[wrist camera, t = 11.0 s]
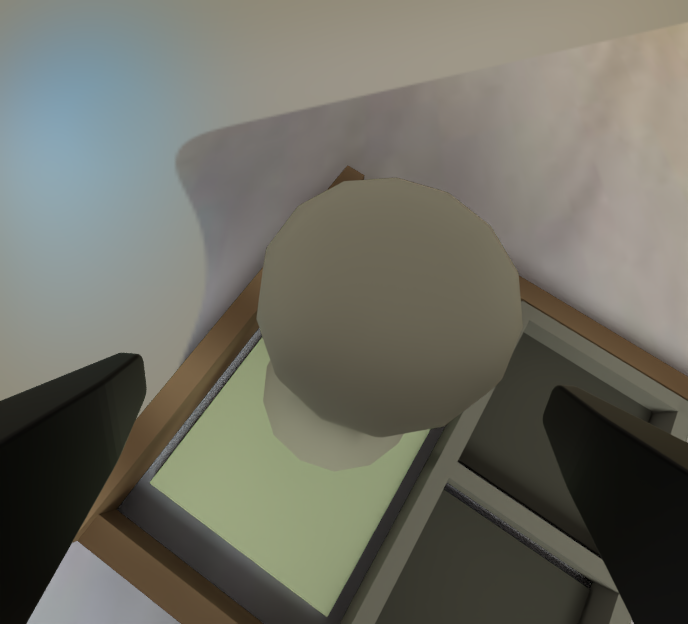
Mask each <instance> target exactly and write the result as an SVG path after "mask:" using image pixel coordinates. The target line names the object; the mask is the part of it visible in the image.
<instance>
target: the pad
mask: <svg viewBox="0 0 688 624" xmlns="http://www.w3.org/2000/svg"><path fill="white" fill-rule="evenodd" d="M269 361H270V357H269V355H268V352H267V349H266V346H265V343H264V340H263V337H262V338H261V339H260V341H259V342H258V343H257V344H256V346H255V347H254V348H253V350H252V351H251V352H250V354H249V355H248V356H247V357H246V359H245V360H244V361H243V363H242V364H241V365H240V366H239V368H238V369H237V370H236V372H235V373H234V374H233V376H232V377H231V378H230V379H229V381H228V382H227V383H226V385H225V386H224V387H223V388H222V390H221V391H220V392H219V394H218V395H217V396H216V398H215V399H214V400H213V401H212V403H211V404H210V405H209V407H208V408H207V409H206V410H205V412H204V413H203V414H202V416H201V417H200V418H199V419H198V421H197V422H196V423H195V425H194V426H193V427H192V429H191V430H190V431H189V432H188V434H187V435H186V436H185V438H184V439H183V440H182V441H181V443H180V444H179V445H178V447H177V448H176V449H175V451H174V452H173V453H172V454H171V456H170V457H169V458H168V460H167V461H166V462H165V463H164V465H163V466H162V467H161V469H160V470H159V471H158V473H157V474H156V475H155V476H154V478H153V479H152V480H151V482H150V484H151V485H153V486H154V487H155V488H157V489H158V490H159V491H161V492H162V493H163V494H165V495H166V496H167V497H169V498H170V499H171V500H173V501H174V502H175V503H177V504H178V505H179V506H181V507H182V508H183V509H184V510H186V511H187V512H188V513H190V514H191V515H192V516H194V517H195V518H196V519H198V520H199V521H200V522H202V523H203V524H204V525H206V526H207V527H208V528H210V529H211V530H212V531H214V532H215V533H216V534H218V535H219V536H220V537H221V538H223V539H224V540H225V541H227V542H228V543H229V544H231V545H232V546H233V547H235V548H236V549H237V550H239V551H240V552H241V553H243V554H244V555H245V556H247V557H248V558H249V559H251V560H252V561H253V562H255V563H256V564H257V565H258V566H260V567H261V568H262V569H264V570H265V571H266V572H268V573H269V574H270V575H272V576H273V577H274V578H276V579H277V580H278V581H280V582H281V583H282V584H284V585H285V586H286V587H288V588H289V589H290V590H292V591H293V592H294V593H295V594H297V595H298V596H299V597H301V598H302V599H303V600H305V601H306V602H307V603H309V604H310V605H311V606H313V607H314V608H315V609H317V610H318V611H319V612H321V613H322V614H323V615H325V616H326V617H328V615H329V613H330V611H331V609H332V608H333V606H334V604H335V602H336V600H337V598H338V597H339V595H340V593H341V591H342V589H343V588H344V586H345V584H346V582H347V580H348V578H349V577H350V575H351V573H352V571H353V569H354V568H355V566H356V564H357V562H358V560H359V558H360V557H361V555H362V553H363V551H364V549H365V548H366V546H367V544H368V542H369V540H370V538H371V537H372V535H373V533H374V531H375V529H376V528H377V526H378V524H379V522H380V520H381V518H382V517H383V515H384V513H385V511H386V509H387V508H388V506H389V504H390V502H391V500H392V498H393V497H394V495H395V493H396V491H397V489H398V488H399V486H400V484H401V482H402V480H403V478H404V477H405V475H406V473H407V471H408V469H409V468H410V466H411V464H412V462H413V460H414V458H415V457H416V455H417V453H418V451H419V449H420V447H421V446H422V444H423V442H424V440H425V438H426V437H427V435H428V433H429V431H430V429H427V430H421V431H416V432H410V433H405V434H404V435H403V436H402V438H401V440H400V441H399V443H398V444H397V445H396V446H394V447H393V448H392V449H390V450H389V451H388V452H387V453H385V454H384V455H383V456H381V457H380V458H379V459H377V460H376V461H375V462H373V463H372V464H371V465H367V466H362V467H356V468H351V469H345V470H340V471H335V472H334V471H331V470H328V469H325V468H322V467H319V466H316V465H313V464H310V463H307V462H304V461H301V460H299V459H298V458H297V457H296V456H295V455H294V454H293V453H292V452H291V451H290V450H289V449H288V448H287V447H286V446H285V445H284V444H283V443H282V442H281V441H280V440H279V439H278V438H277V437H275V436H274V434H273V431H272V428H271V425H270V421H269V418H268V415H267V412H266V409H265V406H264V402H263V397H264V388H265V379H266V369H267V365H268V363H269Z"/></svg>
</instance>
